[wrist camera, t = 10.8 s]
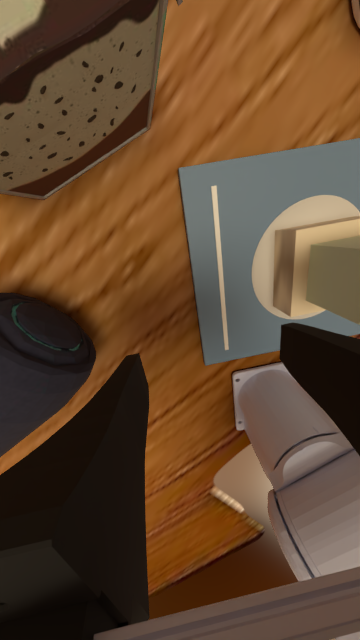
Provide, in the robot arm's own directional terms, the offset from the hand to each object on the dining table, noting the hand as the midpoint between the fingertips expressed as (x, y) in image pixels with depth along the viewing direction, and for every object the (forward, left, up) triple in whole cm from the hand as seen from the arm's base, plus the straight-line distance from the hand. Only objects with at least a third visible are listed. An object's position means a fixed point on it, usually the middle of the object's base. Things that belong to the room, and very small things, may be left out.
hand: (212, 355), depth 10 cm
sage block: (+1, -12, -7) cm, 14 cm away
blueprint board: (+1, -12, -10) cm, 16 cm away
